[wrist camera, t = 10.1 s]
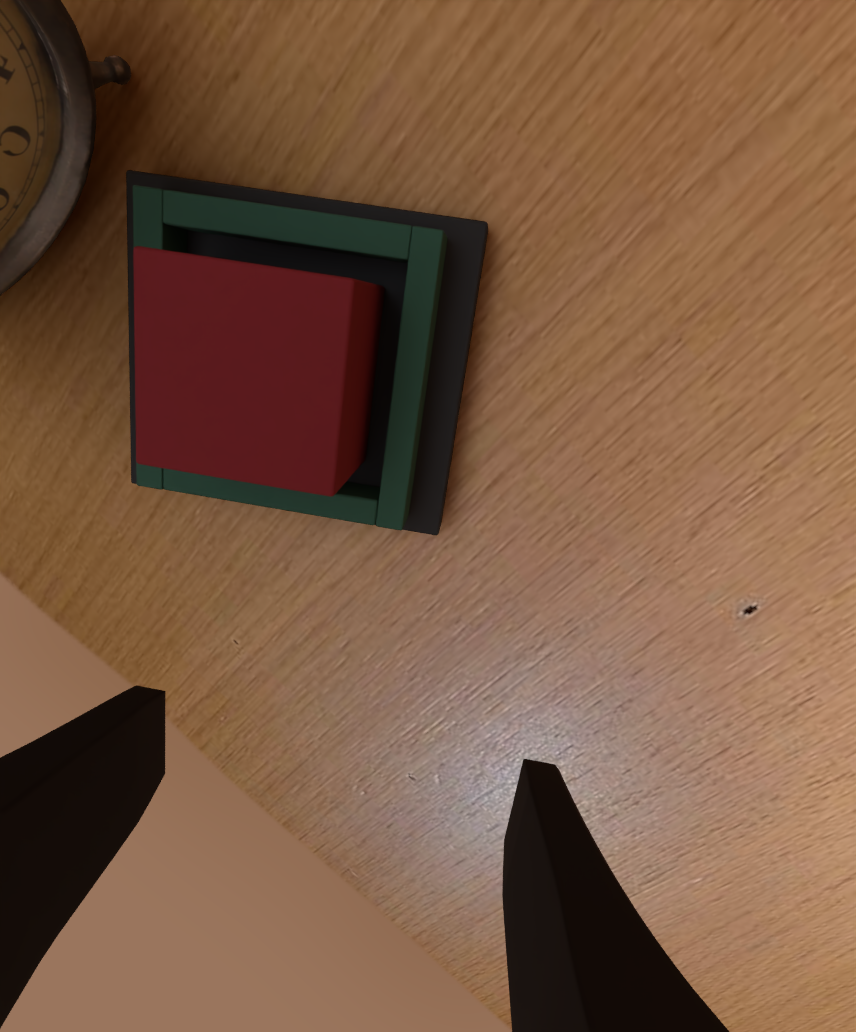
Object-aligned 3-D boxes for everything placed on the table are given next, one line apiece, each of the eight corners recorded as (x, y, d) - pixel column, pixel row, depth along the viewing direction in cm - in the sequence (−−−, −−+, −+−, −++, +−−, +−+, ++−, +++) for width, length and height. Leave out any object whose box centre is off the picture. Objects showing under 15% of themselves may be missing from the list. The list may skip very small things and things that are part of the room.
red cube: (206, 434, 19) (134, 464, 15) (211, 259, 17) (131, 244, 13) (365, 460, 18) (333, 498, 15) (385, 286, 17) (354, 278, 13)
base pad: (150, 474, 21) (103, 496, 18) (148, 178, 18) (93, 156, 15) (441, 524, 20) (433, 553, 18) (488, 227, 17) (487, 213, 15)
